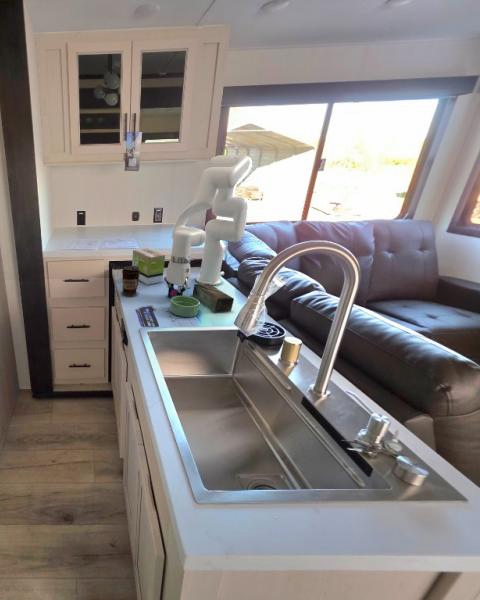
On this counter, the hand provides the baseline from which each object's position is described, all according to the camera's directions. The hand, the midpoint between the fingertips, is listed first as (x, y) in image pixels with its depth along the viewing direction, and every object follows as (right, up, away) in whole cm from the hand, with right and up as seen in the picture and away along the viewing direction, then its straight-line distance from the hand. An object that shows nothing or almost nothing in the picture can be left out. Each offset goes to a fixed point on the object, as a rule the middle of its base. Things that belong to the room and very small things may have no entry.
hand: (174, 297), depth 143 cm
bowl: (0, -6, -13) cm, 14 cm away
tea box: (-8, +10, +24) cm, 27 cm away
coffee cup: (-20, +2, +5) cm, 21 cm away
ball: (0, +2, -1) cm, 2 cm away
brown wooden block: (+14, -3, -5) cm, 15 cm away
